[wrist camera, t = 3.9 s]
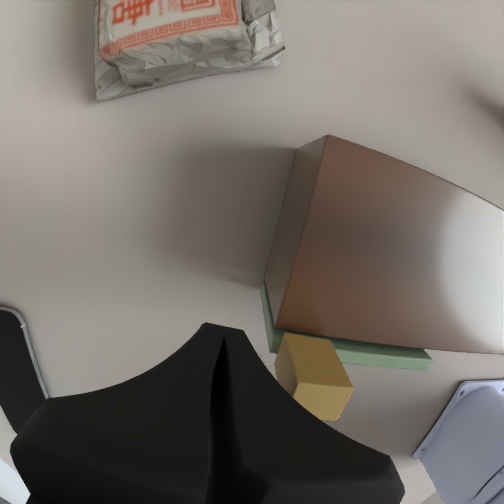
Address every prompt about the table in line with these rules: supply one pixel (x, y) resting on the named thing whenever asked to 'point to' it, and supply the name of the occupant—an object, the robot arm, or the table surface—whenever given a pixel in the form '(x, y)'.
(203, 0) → the packaged product
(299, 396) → the sliding door
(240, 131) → the table surface
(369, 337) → the cupboard
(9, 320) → the smartphone
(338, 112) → the table surface
